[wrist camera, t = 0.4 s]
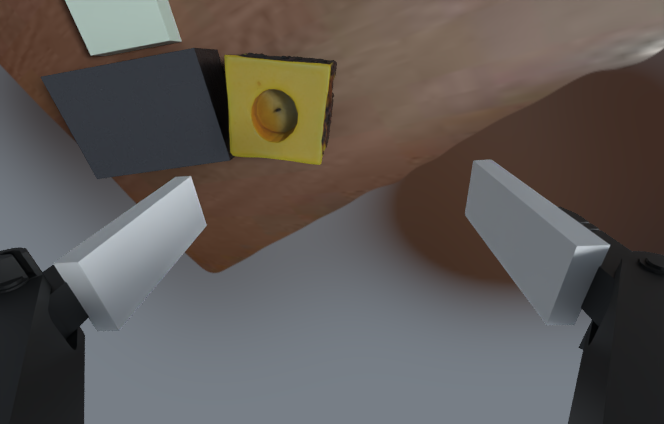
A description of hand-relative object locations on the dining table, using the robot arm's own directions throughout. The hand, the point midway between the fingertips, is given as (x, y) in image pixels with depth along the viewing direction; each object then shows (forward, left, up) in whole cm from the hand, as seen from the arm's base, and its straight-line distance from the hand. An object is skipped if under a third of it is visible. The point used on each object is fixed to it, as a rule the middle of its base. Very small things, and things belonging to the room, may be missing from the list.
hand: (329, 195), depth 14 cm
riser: (-3, -23, -27) cm, 35 cm away
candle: (-2, -6, -27) cm, 28 cm away
